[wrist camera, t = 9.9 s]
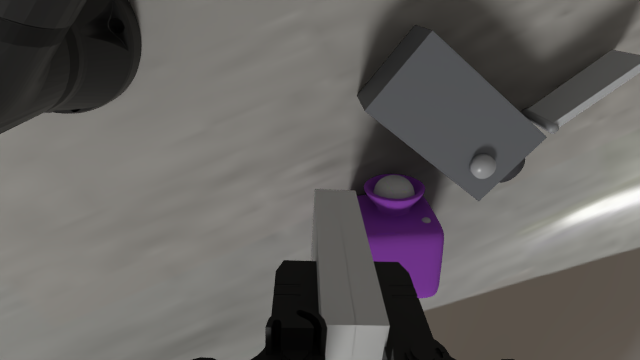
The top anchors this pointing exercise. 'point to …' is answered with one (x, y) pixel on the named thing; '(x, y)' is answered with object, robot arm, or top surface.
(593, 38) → the top surface
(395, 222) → the toy camera
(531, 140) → the box
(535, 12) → the top surface
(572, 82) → the side door
